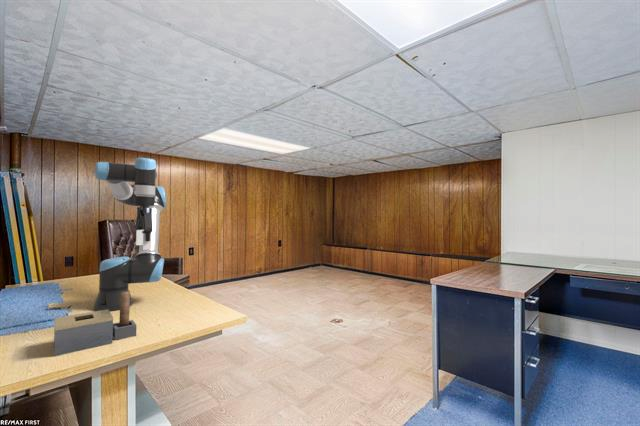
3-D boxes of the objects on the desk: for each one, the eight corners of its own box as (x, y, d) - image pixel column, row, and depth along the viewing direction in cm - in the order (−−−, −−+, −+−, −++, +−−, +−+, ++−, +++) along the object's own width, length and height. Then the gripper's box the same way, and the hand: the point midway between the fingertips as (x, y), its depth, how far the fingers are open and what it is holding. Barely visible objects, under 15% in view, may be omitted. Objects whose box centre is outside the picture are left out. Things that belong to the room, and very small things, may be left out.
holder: (111, 334, 111) (112, 323, 111) (132, 330, 115) (132, 319, 115) (114, 340, 106) (115, 329, 106) (136, 335, 110) (136, 324, 110)
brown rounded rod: (118, 334, 111) (119, 291, 111) (127, 332, 113) (129, 290, 113) (119, 337, 108) (121, 293, 109) (129, 335, 111) (130, 292, 111)
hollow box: (53, 344, 102) (54, 317, 102) (107, 333, 112) (108, 309, 112) (54, 356, 93) (55, 327, 94) (112, 343, 104) (113, 317, 104)
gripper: (128, 195, 130) (127, 243, 131) (140, 195, 112) (138, 252, 112) (148, 196, 135) (146, 242, 136) (162, 196, 117) (160, 250, 117)
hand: (143, 247), depth 124 cm, fingers open, 13 cm apart
